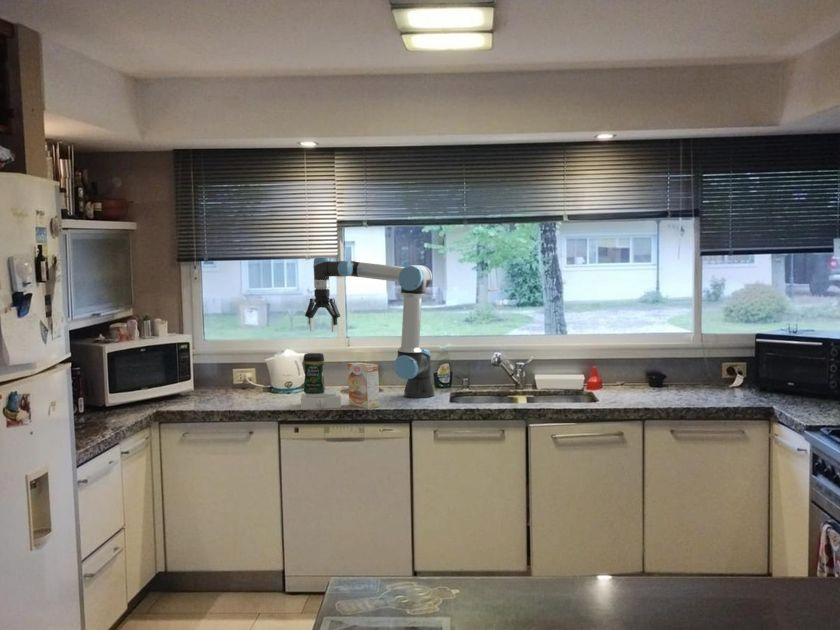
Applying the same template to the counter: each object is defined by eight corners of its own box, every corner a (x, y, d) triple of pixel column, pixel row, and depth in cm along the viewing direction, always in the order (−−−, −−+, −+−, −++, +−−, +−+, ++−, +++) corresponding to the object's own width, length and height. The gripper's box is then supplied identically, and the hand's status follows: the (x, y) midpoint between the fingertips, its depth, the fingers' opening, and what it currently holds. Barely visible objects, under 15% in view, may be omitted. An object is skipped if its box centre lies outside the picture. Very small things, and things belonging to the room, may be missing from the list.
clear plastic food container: (340, 402, 364) (339, 389, 364) (340, 408, 349) (340, 394, 348) (302, 403, 362) (301, 390, 362) (301, 409, 347) (300, 396, 346)
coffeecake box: (348, 404, 358) (347, 363, 356) (360, 402, 362) (359, 361, 361) (367, 408, 346) (366, 366, 345) (379, 406, 351) (378, 364, 350)
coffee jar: (302, 394, 352) (301, 354, 351) (306, 391, 360) (305, 352, 359) (322, 394, 351) (321, 354, 350) (326, 391, 359) (325, 352, 358)
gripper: (297, 289, 382) (298, 331, 383) (337, 288, 369) (338, 332, 371) (307, 288, 389) (308, 330, 390) (346, 288, 376) (347, 331, 377)
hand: (323, 331), depth 380 cm, fingers open, 13 cm apart
